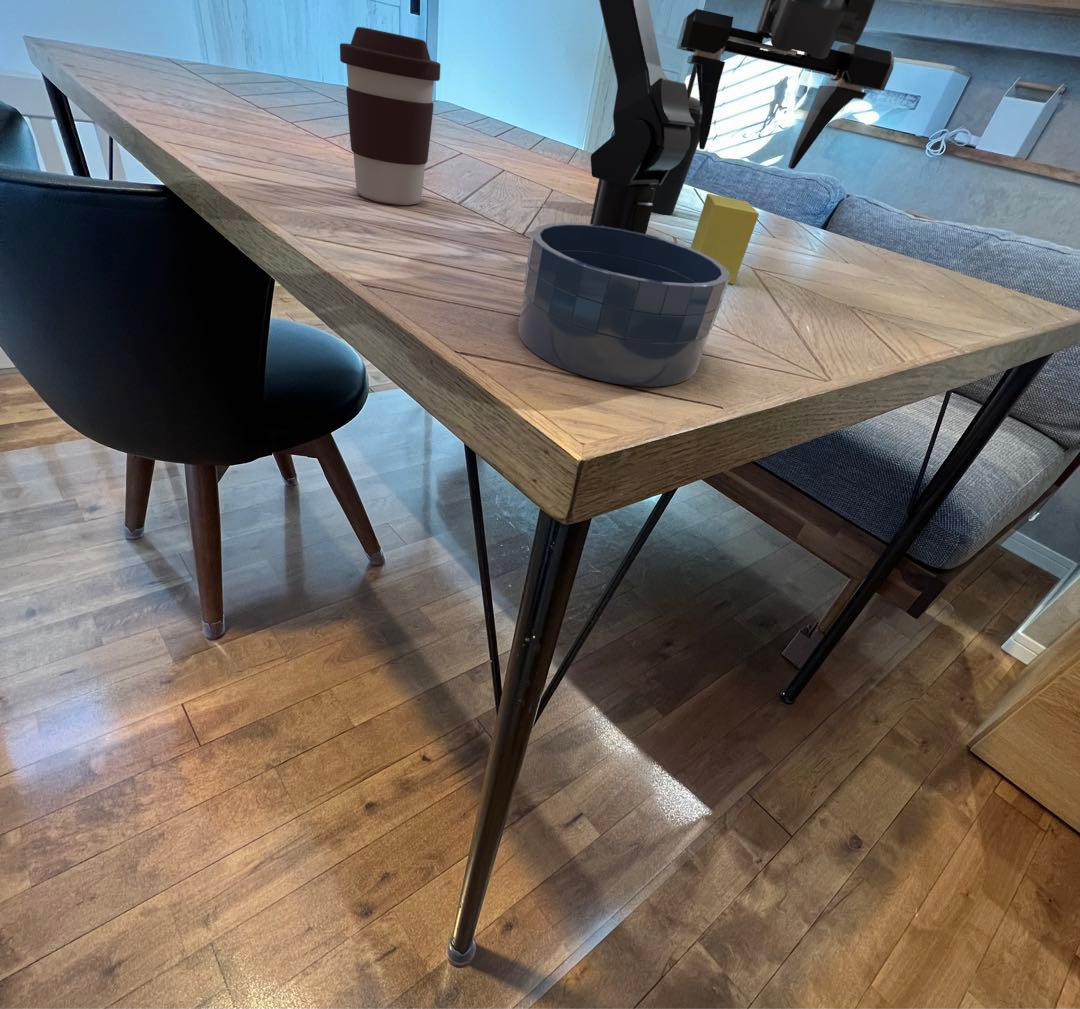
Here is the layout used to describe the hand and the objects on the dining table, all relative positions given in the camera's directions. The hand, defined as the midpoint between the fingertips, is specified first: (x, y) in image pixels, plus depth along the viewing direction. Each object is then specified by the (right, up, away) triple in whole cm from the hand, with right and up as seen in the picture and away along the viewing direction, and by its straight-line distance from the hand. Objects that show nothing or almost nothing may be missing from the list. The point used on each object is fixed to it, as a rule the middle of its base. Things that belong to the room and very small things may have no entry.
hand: (746, 158), depth 59 cm
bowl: (-16, -23, -16) cm, 32 cm away
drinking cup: (-2, +11, +32) cm, 34 cm away
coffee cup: (-38, 0, +9) cm, 39 cm away
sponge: (-2, -9, +7) cm, 11 cm away
